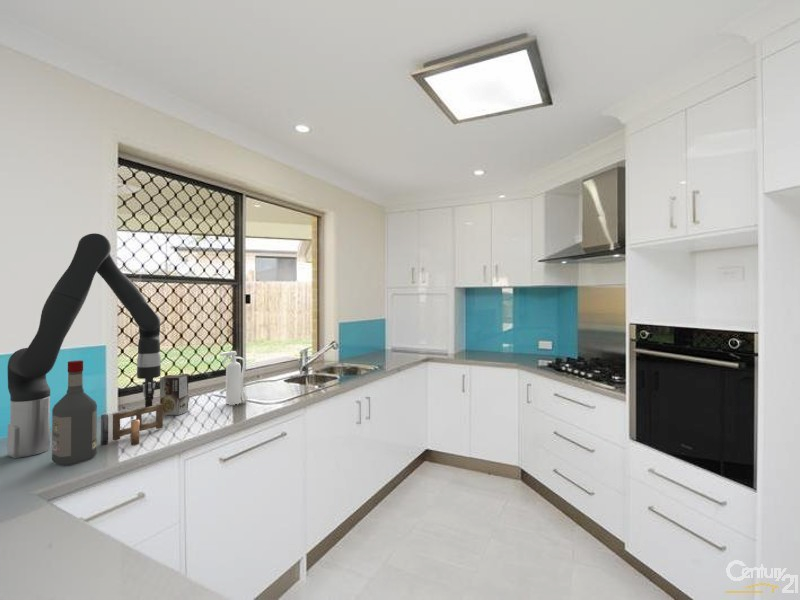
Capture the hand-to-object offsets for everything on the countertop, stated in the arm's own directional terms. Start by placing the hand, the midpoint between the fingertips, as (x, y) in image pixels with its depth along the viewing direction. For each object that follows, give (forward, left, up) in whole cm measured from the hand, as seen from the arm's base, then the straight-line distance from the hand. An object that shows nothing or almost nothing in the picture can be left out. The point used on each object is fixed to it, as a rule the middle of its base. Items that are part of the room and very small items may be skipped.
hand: (148, 410), depth 146 cm
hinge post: (-16, -4, -7) cm, 18 cm away
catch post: (-11, -13, -7) cm, 18 cm away
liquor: (-27, -11, -7) cm, 30 cm away
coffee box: (+16, +13, -7) cm, 22 cm away
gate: (-5, -5, -6) cm, 10 cm away
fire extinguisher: (+40, +5, -7) cm, 41 cm away
